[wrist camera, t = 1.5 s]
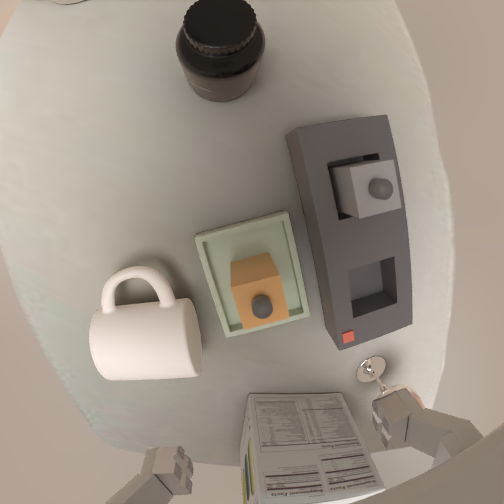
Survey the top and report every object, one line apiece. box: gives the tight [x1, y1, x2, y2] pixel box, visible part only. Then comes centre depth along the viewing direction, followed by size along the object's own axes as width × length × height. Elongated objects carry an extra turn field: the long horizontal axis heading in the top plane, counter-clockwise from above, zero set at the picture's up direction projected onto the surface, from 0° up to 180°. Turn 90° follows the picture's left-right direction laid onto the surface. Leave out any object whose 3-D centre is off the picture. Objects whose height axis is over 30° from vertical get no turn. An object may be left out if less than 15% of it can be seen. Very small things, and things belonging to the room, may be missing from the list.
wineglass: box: [357, 356, 425, 412], centre depth 31 cm, size 6×6×12 cm
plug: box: [230, 252, 290, 330], centre depth 27 cm, size 4×4×8 cm
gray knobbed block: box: [328, 159, 401, 219], centre depth 25 cm, size 4×4×8 cm
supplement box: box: [239, 393, 386, 504], centre depth 30 cm, size 13×13×18 cm
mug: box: [89, 266, 203, 380], centre depth 28 cm, size 12×10×8 cm
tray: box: [194, 211, 310, 338], centre depth 31 cm, size 11×9×2 cm
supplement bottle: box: [176, 0, 265, 102], centre depth 20 cm, size 7×7×12 cm
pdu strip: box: [285, 115, 412, 351], centre depth 29 cm, size 22×9×5 cm, turn 14°
